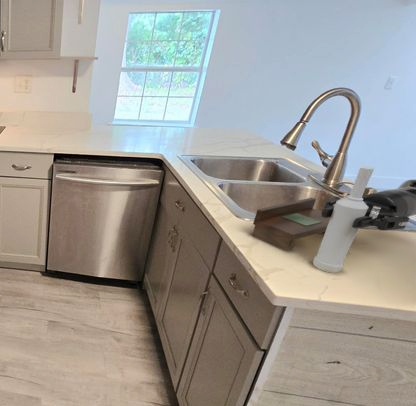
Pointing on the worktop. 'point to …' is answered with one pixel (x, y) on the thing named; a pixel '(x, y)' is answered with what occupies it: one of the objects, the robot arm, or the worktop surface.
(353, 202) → the bottle
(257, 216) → the shelf
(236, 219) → the worktop surface
